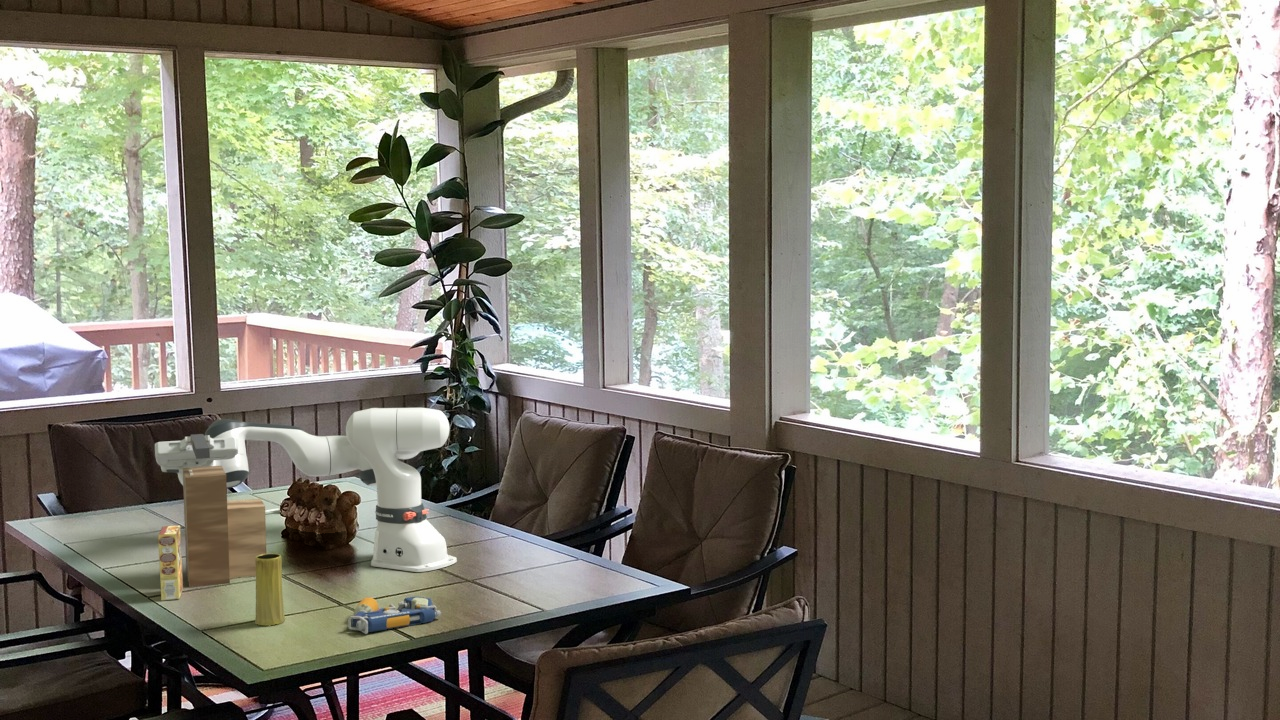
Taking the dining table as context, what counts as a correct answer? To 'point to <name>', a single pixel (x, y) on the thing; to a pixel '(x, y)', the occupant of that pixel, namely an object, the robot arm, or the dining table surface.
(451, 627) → the dining table surface
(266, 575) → the vase
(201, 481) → the stand
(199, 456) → the bar
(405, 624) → the toy blaster gun
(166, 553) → the candy box
